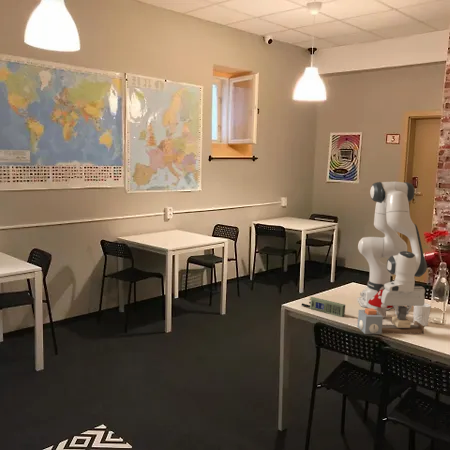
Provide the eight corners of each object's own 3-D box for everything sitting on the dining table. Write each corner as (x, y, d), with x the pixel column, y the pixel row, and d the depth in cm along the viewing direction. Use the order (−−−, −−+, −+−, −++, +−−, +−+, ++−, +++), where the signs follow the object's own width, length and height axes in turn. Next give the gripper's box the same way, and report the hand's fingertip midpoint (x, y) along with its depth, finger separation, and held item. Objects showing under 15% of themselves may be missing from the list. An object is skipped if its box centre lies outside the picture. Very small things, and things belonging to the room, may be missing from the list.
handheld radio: (342, 318, 251) (300, 307, 266) (345, 316, 253) (303, 306, 269) (343, 305, 250) (301, 295, 266) (346, 304, 252) (304, 294, 268)
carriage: (391, 322, 237) (393, 304, 236) (403, 322, 238) (405, 304, 236) (397, 327, 230) (399, 309, 229) (410, 327, 231) (411, 309, 229)
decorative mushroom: (395, 323, 244) (398, 294, 242) (366, 320, 248) (369, 291, 246) (393, 315, 258) (396, 287, 256) (366, 312, 261) (369, 284, 259)
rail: (374, 327, 237) (374, 320, 237) (415, 327, 239) (416, 320, 239) (380, 333, 229) (381, 326, 229) (423, 333, 231) (424, 326, 231)
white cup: (420, 327, 240) (422, 307, 239) (408, 322, 247) (410, 302, 246) (432, 325, 243) (434, 306, 242) (420, 320, 251) (422, 301, 249)
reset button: (364, 314, 234) (365, 308, 233) (372, 314, 234) (373, 308, 234) (367, 317, 230) (368, 310, 229) (376, 317, 230) (376, 311, 230)
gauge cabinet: (356, 326, 237) (358, 309, 236) (373, 326, 238) (374, 309, 237) (364, 334, 227) (366, 316, 226) (381, 334, 228) (383, 316, 227)
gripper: (421, 284, 235) (419, 312, 237) (381, 284, 233) (378, 311, 235) (428, 288, 229) (425, 316, 231) (386, 287, 227) (384, 316, 229)
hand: (401, 314), depth 233 cm, fingers closed on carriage, 3 cm apart
